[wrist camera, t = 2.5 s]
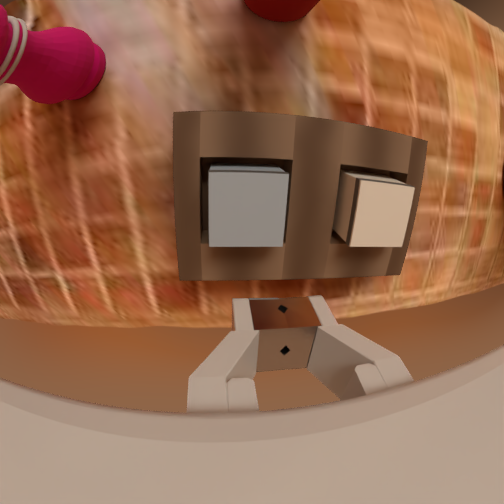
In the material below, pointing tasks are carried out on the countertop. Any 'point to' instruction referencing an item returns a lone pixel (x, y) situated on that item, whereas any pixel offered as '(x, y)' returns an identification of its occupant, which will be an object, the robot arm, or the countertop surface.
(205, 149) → the frame
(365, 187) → the cream key
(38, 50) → the pepper mill
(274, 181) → the slate key
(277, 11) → the beverage can
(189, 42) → the countertop surface
